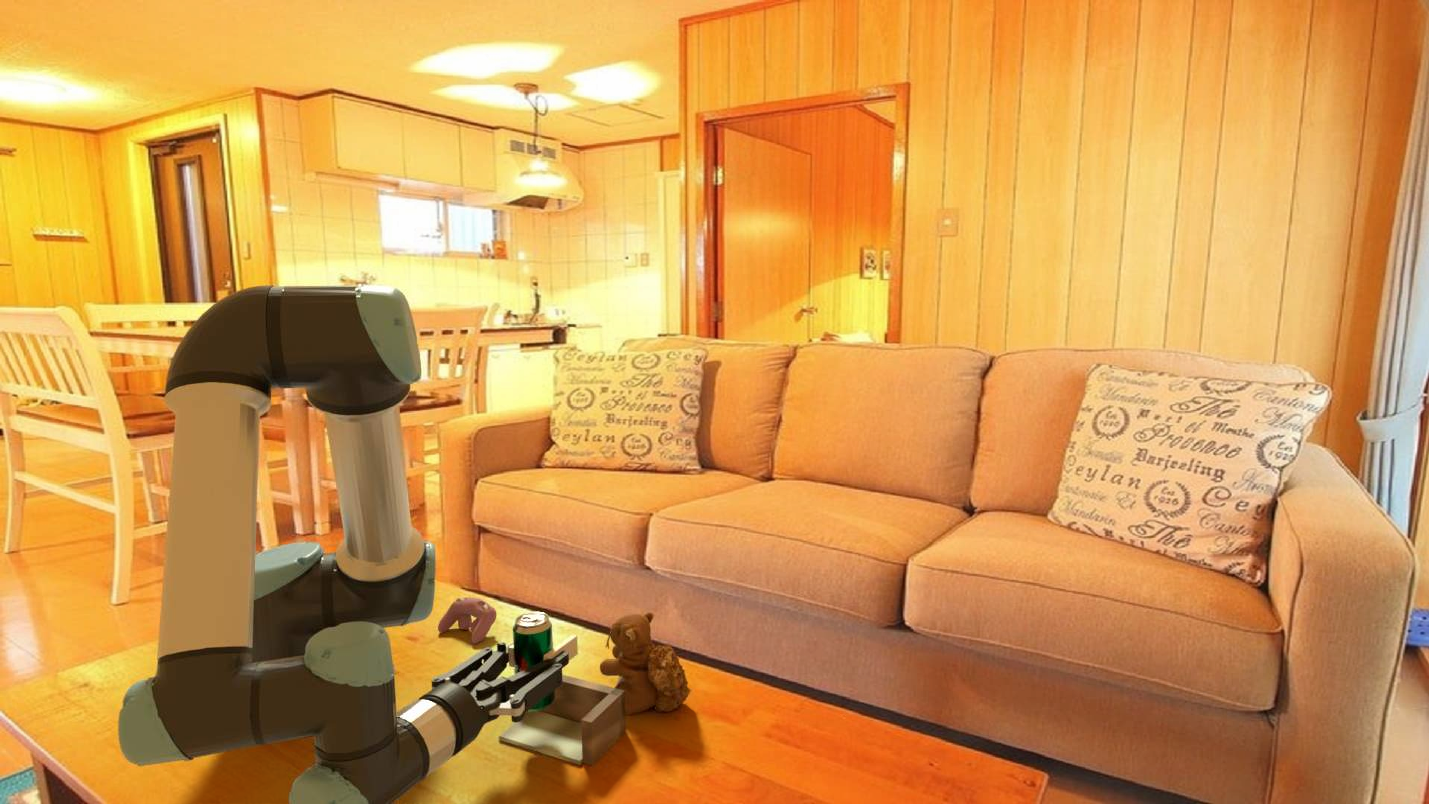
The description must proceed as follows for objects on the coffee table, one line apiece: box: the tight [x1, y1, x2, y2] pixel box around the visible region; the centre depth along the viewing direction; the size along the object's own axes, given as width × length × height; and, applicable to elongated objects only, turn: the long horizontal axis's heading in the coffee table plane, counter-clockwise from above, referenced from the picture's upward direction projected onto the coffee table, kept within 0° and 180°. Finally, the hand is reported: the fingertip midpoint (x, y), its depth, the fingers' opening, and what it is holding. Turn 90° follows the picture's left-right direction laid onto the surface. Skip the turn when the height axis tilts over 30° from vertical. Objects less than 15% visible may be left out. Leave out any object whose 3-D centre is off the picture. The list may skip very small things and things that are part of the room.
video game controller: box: [437, 596, 497, 645], centre depth 133 cm, size 10×5×7 cm, turn 60°
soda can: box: [512, 611, 555, 712], centre depth 101 cm, size 5×5×12 cm
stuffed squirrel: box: [599, 611, 692, 715], centre depth 110 cm, size 10×14×13 cm
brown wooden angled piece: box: [498, 668, 627, 767], centre depth 103 cm, size 18×9×6 cm, turn 66°
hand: (557, 640), depth 106 cm, fingers closed on soda can, 5 cm apart
